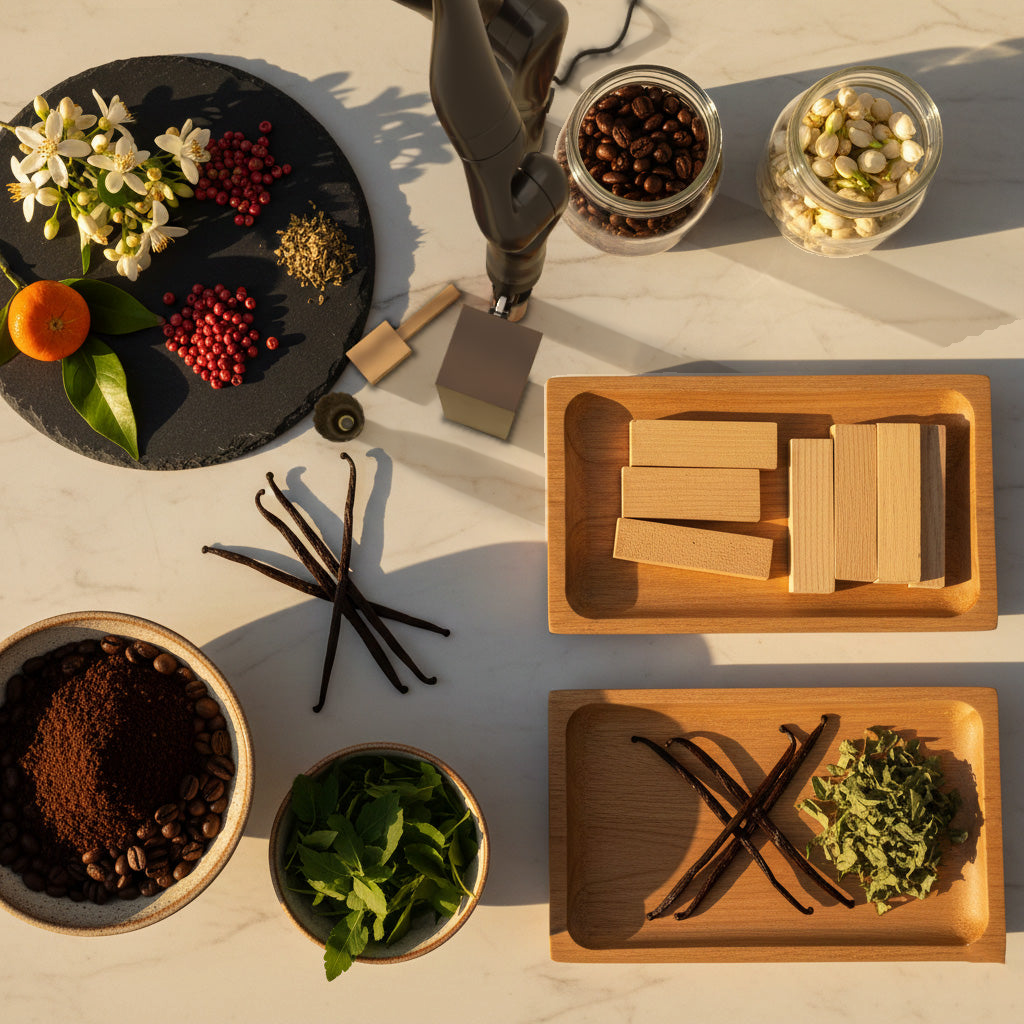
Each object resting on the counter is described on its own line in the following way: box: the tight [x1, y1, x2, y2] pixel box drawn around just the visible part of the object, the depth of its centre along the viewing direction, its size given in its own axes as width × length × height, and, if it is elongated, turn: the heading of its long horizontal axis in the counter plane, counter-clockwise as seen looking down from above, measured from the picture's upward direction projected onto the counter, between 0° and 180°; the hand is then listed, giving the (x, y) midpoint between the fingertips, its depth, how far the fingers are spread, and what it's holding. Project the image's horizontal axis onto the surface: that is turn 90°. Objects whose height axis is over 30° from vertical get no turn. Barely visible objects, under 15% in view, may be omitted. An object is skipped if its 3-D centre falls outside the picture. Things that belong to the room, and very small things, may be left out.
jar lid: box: [491, 283, 534, 308], centre depth 115 cm, size 6×6×2 cm
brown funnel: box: [311, 391, 366, 444], centre depth 120 cm, size 8×7×8 cm
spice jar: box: [492, 299, 529, 323], centre depth 120 cm, size 5×5×10 cm
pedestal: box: [434, 303, 544, 441], centre depth 109 cm, size 10×10×31 cm
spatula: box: [345, 283, 461, 386], centre depth 123 cm, size 6×20×2 cm, turn 130°
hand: (510, 293), depth 118 cm, fingers closed on jar lid, 5 cm apart
